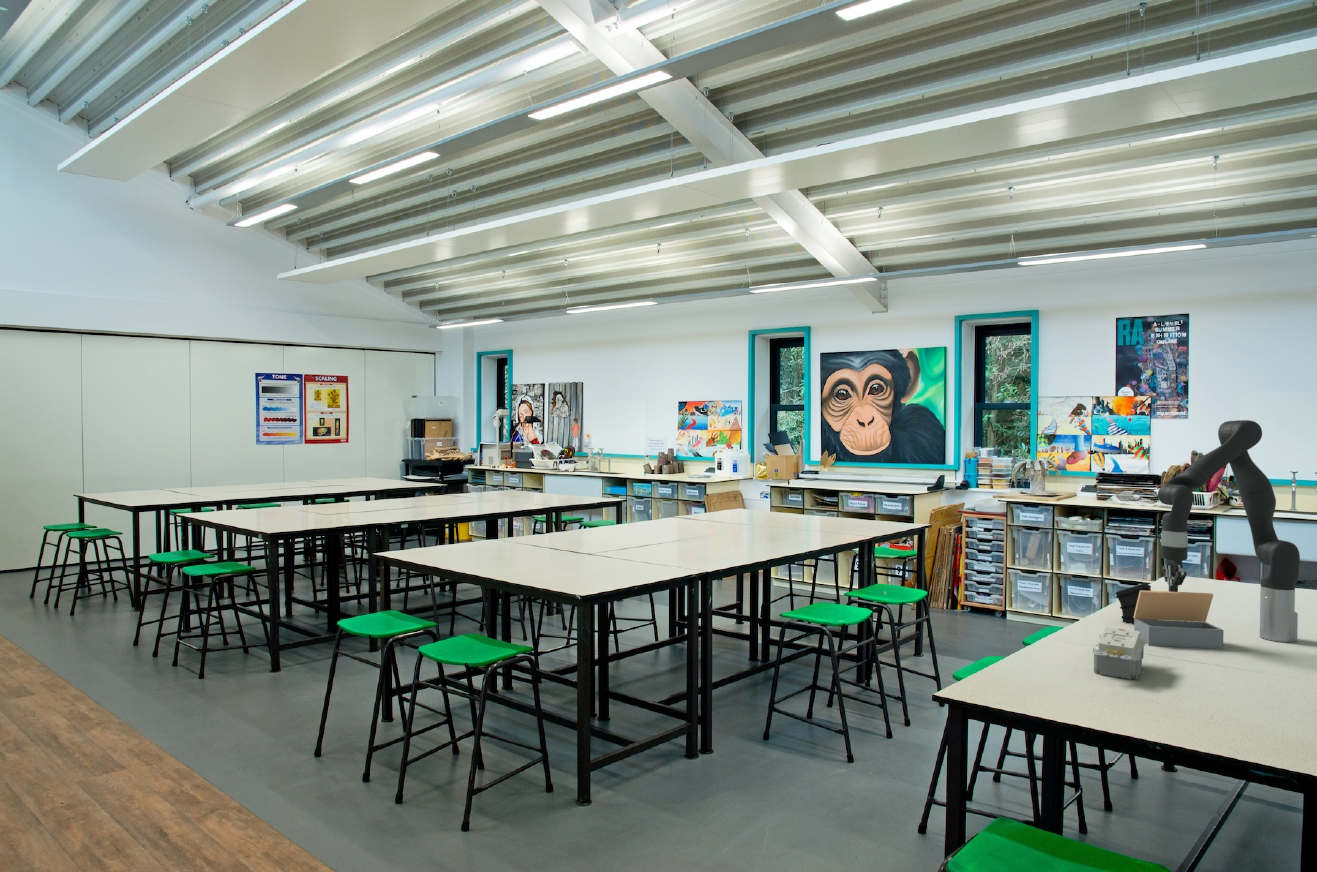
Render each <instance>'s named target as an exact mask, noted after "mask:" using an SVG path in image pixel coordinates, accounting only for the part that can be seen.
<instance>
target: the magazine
mask: <svg viewBox="0 0 1317 872" xmlns="http://www.w3.org/2000/svg"><path fill="white" fill-rule="evenodd" d="M1151 587H1152V585H1150V584H1149V583H1148V582H1144V583H1142V584H1138V585H1135V586H1131V587H1128V588H1125V589H1122V590H1117V591H1115V595H1116V596H1115V599H1118V601H1119V603H1120V606H1119V608H1120V610H1121V611H1122V613H1121V614H1122V615H1121V619H1122V623H1123V622H1126V623H1125V624H1129V623H1132V624H1131V625H1134V613H1135V609H1136V605H1137V600H1138V596H1139V592H1140V590H1142V591H1152V589H1151ZM1147 620H1151V619H1147Z"/></svg>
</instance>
